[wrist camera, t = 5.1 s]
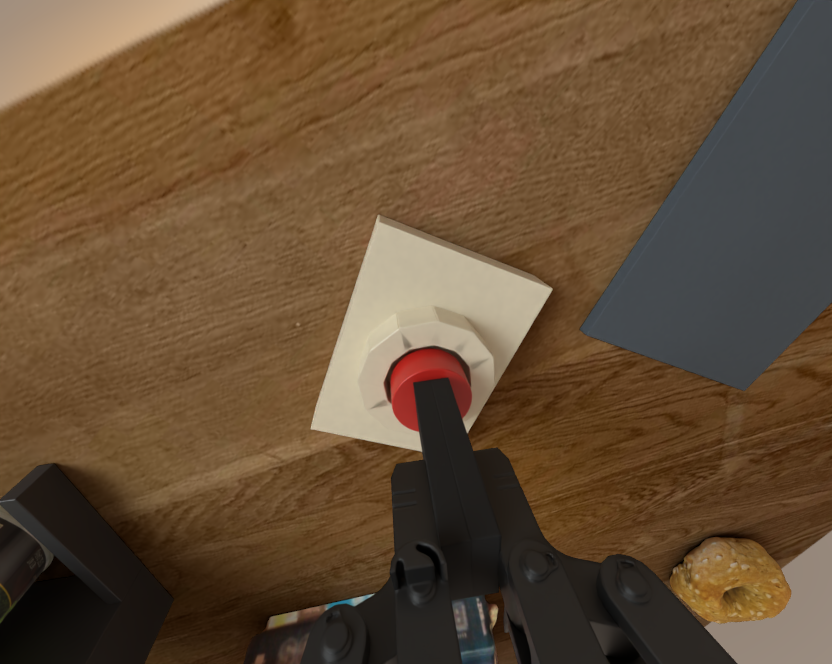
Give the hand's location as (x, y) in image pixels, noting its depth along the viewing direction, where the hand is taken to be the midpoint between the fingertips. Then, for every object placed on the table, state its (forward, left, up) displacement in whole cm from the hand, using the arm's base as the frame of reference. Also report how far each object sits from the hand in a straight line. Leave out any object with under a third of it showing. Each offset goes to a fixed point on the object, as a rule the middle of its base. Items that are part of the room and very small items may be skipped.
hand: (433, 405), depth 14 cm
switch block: (0, 0, -6) cm, 6 cm away
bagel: (+15, +40, -6) cm, 43 cm away
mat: (-13, +16, -6) cm, 21 cm away
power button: (0, 0, -2) cm, 2 cm away
